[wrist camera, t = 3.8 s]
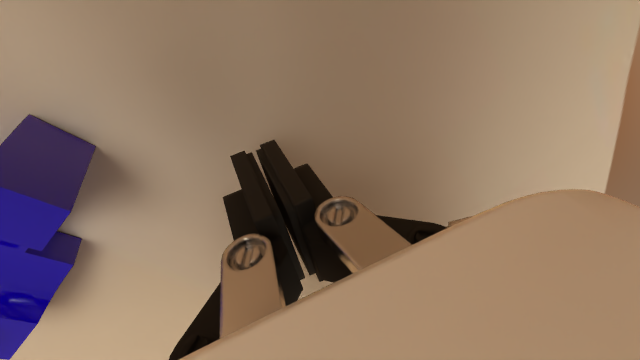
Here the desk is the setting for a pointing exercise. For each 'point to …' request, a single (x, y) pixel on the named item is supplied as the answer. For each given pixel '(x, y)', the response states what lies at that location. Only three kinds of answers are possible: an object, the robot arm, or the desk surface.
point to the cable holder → (35, 222)
